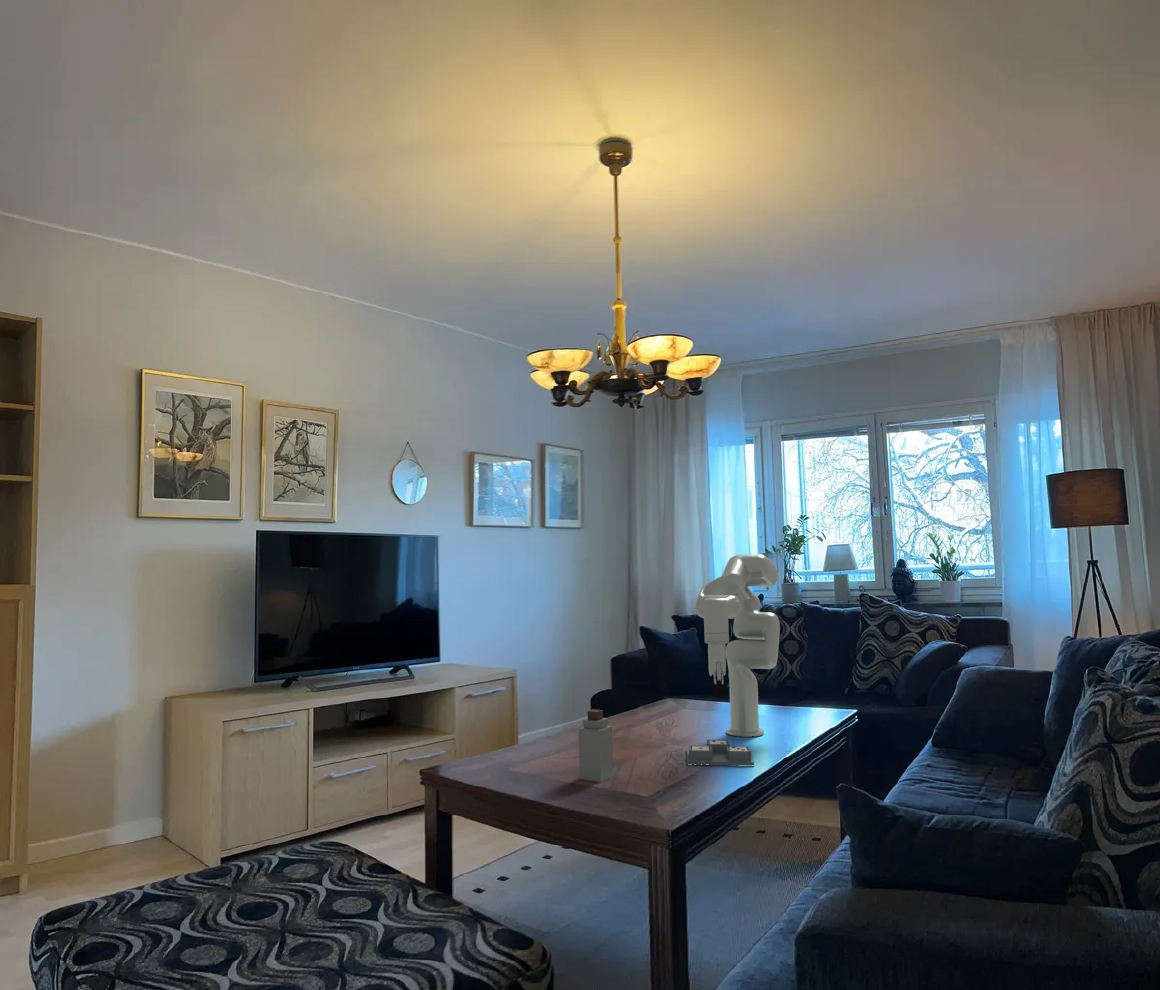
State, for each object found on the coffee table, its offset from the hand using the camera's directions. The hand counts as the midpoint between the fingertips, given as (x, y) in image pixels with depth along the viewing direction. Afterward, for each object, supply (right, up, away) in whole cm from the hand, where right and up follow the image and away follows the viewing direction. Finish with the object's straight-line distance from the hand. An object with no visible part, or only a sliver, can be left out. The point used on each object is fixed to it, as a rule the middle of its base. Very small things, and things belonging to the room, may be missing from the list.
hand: (719, 697), depth 245 cm
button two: (-1, -15, -4) cm, 15 cm away
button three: (+3, -14, -14) cm, 20 cm away
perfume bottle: (-39, -15, -28) cm, 50 cm away
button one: (-8, -14, -12) cm, 20 cm away
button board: (-2, -16, -9) cm, 19 cm away
